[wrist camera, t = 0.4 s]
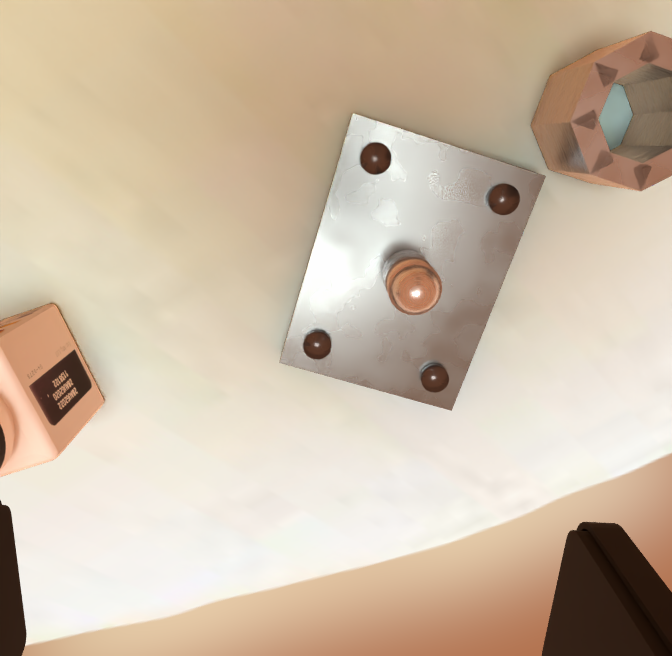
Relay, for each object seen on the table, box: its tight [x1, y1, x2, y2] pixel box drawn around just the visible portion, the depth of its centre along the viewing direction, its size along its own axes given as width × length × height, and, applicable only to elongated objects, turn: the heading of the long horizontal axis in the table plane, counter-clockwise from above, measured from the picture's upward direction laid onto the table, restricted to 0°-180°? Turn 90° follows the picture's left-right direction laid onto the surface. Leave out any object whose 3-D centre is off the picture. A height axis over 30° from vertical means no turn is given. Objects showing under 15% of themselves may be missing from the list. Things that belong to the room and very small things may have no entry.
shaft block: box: [279, 113, 546, 411], centre depth 34 cm, size 16×12×7 cm
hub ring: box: [531, 31, 672, 191], centre depth 32 cm, size 7×7×6 cm
